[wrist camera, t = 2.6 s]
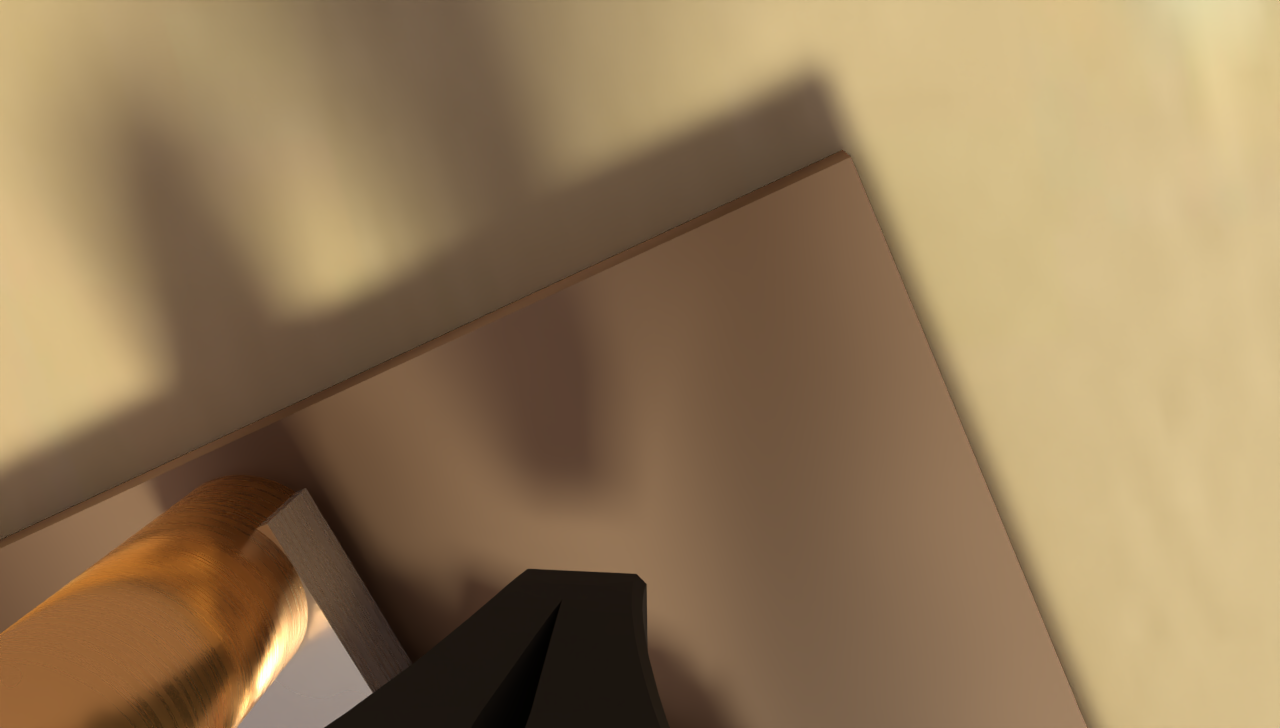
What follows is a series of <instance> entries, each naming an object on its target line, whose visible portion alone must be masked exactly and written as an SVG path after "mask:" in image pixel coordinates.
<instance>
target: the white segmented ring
mask: <svg viewBox="0 0 1280 728" xmlns="http://www.w3.org/2000/svg"><path fill="white" fill-rule="evenodd" d="M412 664H413V663H412V662H411V660H410V658H409V657H408V655H407V653H406V652H405V650H404V649H403V647H402V645H401V644H400V642H399V640H398V639H397V637H396V635H395V634H394V632H393V630H392V629H391V627H390V626H389V624H388V622H387V621H386V619H385V617H384V616H383V614H382V612H381V611H380V609H379V607H378V606H377V604H376V602H375V601H374V599H373V598H372V596H371V594H370V593H369V591H368V589H367V588H366V586H365V584H364V583H363V581H362V579H361V578H360V576H359V574H358V573H357V571H356V570H355V568H354V566H353V565H352V563H351V561H350V560H349V558H348V556H347V555H346V553H345V551H344V550H343V548H342V546H341V545H340V543H339V542H338V540H337V538H336V537H335V535H334V533H333V532H332V530H331V528H330V527H329V525H328V523H327V522H326V520H325V518H324V517H323V515H322V514H321V512H320V510H319V509H318V507H317V505H316V504H315V502H314V500H313V499H312V497H311V495H310V494H309V492H308V490H307V489H306V488H304V489H302V490H300V491H298V492H294V491H293V490H291V489H289V488H288V487H286V486H284V485H281V484H279V483H277V482H275V481H272V480H268V479H265V478H262V477H256V476H250V475H230V476H224V477H219V478H216V479H213V480H210V481H208V482H206V483H204V484H202V485H200V486H198V487H197V488H196V489H194V490H193V491H192V492H190V493H189V494H188V495H186V496H185V497H184V498H182V499H181V500H180V501H178V502H177V503H176V504H174V505H173V506H172V507H170V508H169V509H168V510H166V511H165V512H163V513H162V514H161V515H159V516H158V517H157V518H155V519H154V520H153V521H151V522H150V523H149V524H147V525H146V526H145V527H143V528H142V529H141V530H139V531H138V532H137V533H135V534H134V535H133V536H131V537H130V538H128V539H127V540H126V541H124V542H123V543H122V544H120V545H119V546H118V547H116V548H115V549H114V550H112V551H111V552H110V553H108V554H107V555H106V556H104V557H103V558H102V559H100V560H99V561H98V562H96V563H95V564H93V565H92V566H91V567H89V568H88V569H87V570H85V571H84V572H83V573H81V574H80V575H79V576H77V577H76V578H75V579H73V580H72V581H71V582H69V583H68V584H67V585H65V586H64V587H63V588H61V589H60V590H58V591H57V592H56V593H54V594H53V595H52V596H50V597H49V598H48V599H46V600H45V601H44V602H42V603H41V604H40V605H38V606H37V607H36V608H34V609H33V610H32V611H30V612H29V613H27V614H26V615H25V616H23V617H22V618H21V619H19V620H18V621H17V622H15V623H14V624H13V625H11V626H10V627H9V628H7V629H6V630H5V631H3V632H2V633H1V634H0V728H324V727H326V726H327V725H328V724H330V723H331V722H333V721H334V720H336V719H337V718H339V717H340V716H342V715H343V714H345V713H346V712H348V711H349V710H350V709H352V708H353V707H354V706H356V705H357V704H358V703H360V702H361V701H363V700H364V699H365V698H367V697H368V696H369V695H371V694H372V693H373V692H375V691H376V690H378V689H379V688H380V687H382V686H383V685H384V684H386V683H387V682H388V681H390V680H391V679H392V678H394V677H395V676H397V675H398V674H399V673H401V672H402V671H403V670H405V669H406V668H407V667H409V666H410V665H412Z"/></svg>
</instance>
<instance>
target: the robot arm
mask: <svg viewBox="0 0 1280 728" xmlns="http://www.w3.org/2000/svg"><path fill="white" fill-rule="evenodd" d="M324 728H670V726H669V724H668V721H667V718H666V715H665V712H664V709H663V706H662V703H661V700H660V697H659V693H658V689H657V686H656V682H655V678H654V674H653V670H652V667H651V663H650V659H649V654H648V638H647V584H646V583H645V582H644V581H643V580H642V579H641V578H640V577H639V576H638V575H637V574H631V573H610V572H589V571H567V570H546V569H526V570H525V571H524V572H523V573H521V574H520V575H519V576H518V577H516V578H515V579H514V580H513V581H511V582H510V583H509V584H508V585H507V586H506V587H504V588H503V589H502V590H501V591H500V592H499V593H497V594H496V595H495V596H494V597H493V598H492V599H490V600H489V601H488V602H487V603H486V604H485V605H484V606H482V607H481V608H480V609H479V610H478V611H476V612H475V613H474V614H473V615H472V616H471V617H469V618H468V619H467V620H466V621H465V622H463V623H462V624H461V625H460V626H459V627H457V628H456V629H455V630H454V631H452V632H451V633H450V634H449V635H448V636H446V637H445V638H444V639H443V640H441V641H440V642H439V643H438V644H437V645H435V646H434V647H433V648H432V649H431V650H429V651H428V652H427V653H426V654H424V655H423V656H422V657H421V658H419V659H418V660H417V661H416V662H414V663H413V664H412V665H410V666H409V667H407V668H406V669H405V670H403V671H402V672H401V673H399V674H398V675H397V676H395V677H394V678H392V679H391V680H390V681H388V682H387V683H386V684H384V685H383V686H382V687H380V688H379V689H378V690H376V691H375V692H373V693H372V694H371V695H369V696H368V697H367V698H365V699H364V700H363V701H361V702H360V703H358V704H357V705H356V706H354V707H353V708H352V709H350V710H349V711H348V712H346V713H345V714H343V715H342V716H340V717H339V718H337V719H336V720H334V721H333V722H331V723H330V724H328V725H327V726H326V727H324Z"/></svg>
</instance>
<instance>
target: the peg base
mask: <svg viewBox="0 0 1280 728" xmlns="http://www.w3.org/2000/svg"><path fill="white" fill-rule="evenodd" d="M230 475H250V476H256V477H262V478H265V479H268V480H272V481H275V482H277V483H279V484H281V485H284V486H286V487H288V488H289V489H291V490H293V491H294V492H298V491H300V490H302V489H304V488H306V489H307V490H308V492H309V494H310V495H311V497H312V499H313V500H314V502H315V504H316V505H317V507H318V509H319V510H320V512H321V514H322V515H323V517H324V518H325V520H326V522H327V523H328V525H329V527H330V528H331V530H332V532H333V533H334V535H335V537H336V538H337V540H338V542H339V543H340V545H341V546H342V548H343V550H344V551H345V553H346V555H347V556H348V558H349V560H350V561H351V563H352V565H353V566H354V568H355V570H356V571H357V573H358V574H359V576H360V578H361V579H362V581H363V583H364V584H365V586H366V588H367V589H368V591H369V593H370V594H371V596H372V598H373V599H374V601H375V602H376V604H377V606H378V607H379V609H380V611H381V612H382V614H383V616H384V617H385V619H386V621H387V622H388V624H389V626H390V627H391V629H392V630H393V632H394V634H395V635H396V637H397V639H398V640H399V642H400V644H401V645H402V647H403V649H404V650H405V652H406V653H407V655H408V657H409V658H410V660H411V662H412V663H414V662H416V661H417V660H418V659H419V658H421V657H422V656H423V655H424V654H426V653H427V652H428V651H429V650H431V649H432V648H433V647H434V646H435V645H437V644H438V643H439V642H440V641H441V640H443V639H444V638H445V637H446V636H448V635H449V634H450V633H451V632H452V631H454V630H455V629H456V628H457V627H459V626H460V625H461V624H462V623H463V622H465V621H466V620H467V619H468V618H469V617H471V616H472V615H473V614H474V613H475V612H476V611H478V610H479V609H480V608H481V607H482V606H484V605H485V604H486V603H487V602H488V601H489V600H490V599H492V598H493V597H494V596H495V595H496V594H497V593H499V592H500V591H501V590H502V589H503V588H504V587H506V586H507V585H508V584H509V583H510V582H511V581H513V580H514V579H515V578H516V577H518V576H519V575H520V574H521V573H523V572H524V571H525V570H526V569H546V570H567V571H589V572H610V573H631V574H637V575H638V576H639V577H640V578H641V579H642V580H643V581H644V582H645V583H646V584H647V638H648V654H649V659H650V663H651V667H652V670H653V674H654V678H655V682H656V686H657V689H658V693H659V697H660V700H661V703H662V706H663V709H664V712H665V715H666V718H667V721H668V724H669V726H670V728H1087V726H1086V724H1085V721H1084V719H1083V717H1082V714H1081V712H1080V709H1079V707H1078V704H1077V702H1076V700H1075V697H1074V695H1073V692H1072V690H1071V688H1070V685H1069V683H1068V680H1067V678H1066V675H1065V673H1064V671H1063V668H1062V666H1061V663H1060V661H1059V658H1058V656H1057V654H1056V651H1055V649H1054V646H1053V644H1052V642H1051V639H1050V637H1049V634H1048V632H1047V629H1046V627H1045V625H1044V622H1043V620H1042V617H1041V615H1040V613H1039V610H1038V608H1037V605H1036V603H1035V600H1034V598H1033V596H1032V593H1031V591H1030V588H1029V586H1028V584H1027V581H1026V579H1025V576H1024V574H1023V571H1022V569H1021V567H1020V564H1019V562H1018V559H1017V557H1016V555H1015V552H1014V550H1013V547H1012V545H1011V542H1010V540H1009V538H1008V535H1007V533H1006V530H1005V528H1004V526H1003V523H1002V521H1001V518H1000V516H999V513H998V511H997V509H996V506H995V504H994V501H993V499H992V497H991V494H990V492H989V489H988V487H987V484H986V482H985V480H984V477H983V475H982V472H981V470H980V468H979V465H978V463H977V460H976V458H975V455H974V453H973V451H972V448H971V446H970V443H969V441H968V439H967V436H966V434H965V431H964V429H963V426H962V424H961V422H960V419H959V417H958V414H957V412H956V410H955V407H954V405H953V402H952V400H951V397H950V395H949V393H948V390H947V388H946V385H945V383H944V381H943V378H942V376H941V373H940V371H939V368H938V366H937V364H936V361H935V359H934V356H933V354H932V351H931V349H930V347H929V344H928V342H927V339H926V337H925V335H924V332H923V330H922V327H921V325H920V322H919V320H918V318H917V315H916V313H915V310H914V308H913V306H912V303H911V301H910V298H909V296H908V293H907V291H906V289H905V286H904V284H903V281H902V279H901V277H900V274H899V272H898V269H897V267H896V264H895V262H894V260H893V257H892V255H891V252H890V250H889V248H888V245H887V243H886V240H885V238H884V235H883V233H882V231H881V228H880V226H879V223H878V221H877V219H876V216H875V214H874V211H873V209H872V206H871V204H870V202H869V199H868V197H867V194H866V192H865V190H864V187H863V185H862V182H861V180H860V177H859V175H858V173H857V170H856V168H855V165H854V163H853V161H852V158H851V157H850V156H849V155H848V154H847V153H846V152H845V151H844V150H841V151H839V152H837V153H835V154H833V155H831V156H828V157H826V158H824V159H822V160H820V161H818V162H816V163H813V164H811V165H809V166H807V167H805V168H803V169H800V170H798V171H796V172H794V173H792V174H790V175H787V176H785V177H783V178H781V179H779V180H777V181H775V182H772V183H770V184H768V185H766V186H764V187H762V188H759V189H757V190H755V191H753V192H751V193H749V194H746V195H744V196H742V197H740V198H738V199H736V200H733V201H731V202H729V203H727V204H725V205H723V206H721V207H718V208H716V209H714V210H712V211H710V212H708V213H705V214H703V215H701V216H699V217H697V218H695V219H692V220H690V221H688V222H686V223H684V224H682V225H679V226H677V227H675V228H673V229H671V230H669V231H667V232H664V233H662V234H660V235H658V236H656V237H654V238H651V239H649V240H647V241H645V242H643V243H641V244H638V245H636V246H634V247H632V248H630V249H628V250H626V251H623V252H621V253H619V254H617V255H615V256H613V257H610V258H608V259H606V260H604V261H602V262H600V263H597V264H595V265H593V266H591V267H589V268H587V269H584V270H582V271H580V272H578V273H576V274H574V275H572V276H569V277H567V278H565V279H563V280H561V281H559V282H556V283H554V284H552V285H550V286H548V287H546V288H543V289H541V290H539V291H537V292H535V293H533V294H531V295H528V296H526V297H524V298H522V299H520V300H518V301H515V302H513V303H511V304H509V305H507V306H505V307H502V308H500V309H498V310H496V311H494V312H492V313H489V314H487V315H485V316H483V317H481V318H479V319H477V320H474V321H472V322H470V323H468V324H466V325H464V326H461V327H459V328H457V329H455V330H453V331H451V332H448V333H446V334H444V335H442V336H440V337H438V338H436V339H433V340H431V341H429V342H427V343H425V344H423V345H420V346H418V347H416V348H414V349H412V350H410V351H407V352H405V353H403V354H401V355H399V356H397V357H394V358H392V359H390V360H388V361H386V362H384V363H382V364H379V365H377V366H375V367H373V368H371V369H369V370H366V371H364V372H362V373H360V374H358V375H356V376H353V377H351V378H349V379H347V380H345V381H343V382H340V383H338V384H336V385H334V386H332V387H330V388H328V389H325V390H323V391H321V392H319V393H317V394H315V395H312V396H310V397H308V398H306V399H304V400H302V401H299V402H297V403H295V404H293V405H291V406H289V407H287V408H284V409H282V410H280V411H278V412H276V413H274V414H271V415H269V416H267V417H265V418H263V419H261V420H258V421H256V422H254V423H252V424H250V425H248V426H245V427H243V428H241V429H239V430H237V431H235V432H233V433H230V434H228V435H226V436H224V437H222V438H220V439H217V440H215V441H213V442H211V443H209V444H207V445H204V446H202V447H200V448H198V449H196V450H194V451H192V452H189V453H187V454H185V455H183V456H181V457H179V458H176V459H174V460H172V461H170V462H168V463H166V464H163V465H161V466H159V467H157V468H155V469H153V470H150V471H148V472H146V473H144V474H142V475H140V476H138V477H135V478H133V479H131V480H129V481H127V482H125V483H122V484H120V485H118V486H116V487H114V488H112V489H109V490H107V491H105V492H103V493H101V494H99V495H97V496H94V497H92V498H90V499H88V500H86V501H84V502H81V503H79V504H77V505H75V506H73V507H71V508H68V509H66V510H64V511H62V512H60V513H58V514H55V515H53V516H51V517H49V518H47V519H45V520H43V521H40V522H38V523H36V524H34V525H32V526H30V527H27V528H25V529H23V530H21V531H19V532H17V533H14V534H12V535H10V536H8V537H6V538H4V539H1V540H0V634H1V633H2V632H3V631H5V630H6V629H7V628H9V627H10V626H11V625H13V624H14V623H15V622H17V621H18V620H19V619H21V618H22V617H23V616H25V615H26V614H27V613H29V612H30V611H32V610H33V609H34V608H36V607H37V606H38V605H40V604H41V603H42V602H44V601H45V600H46V599H48V598H49V597H50V596H52V595H53V594H54V593H56V592H57V591H58V590H60V589H61V588H63V587H64V586H65V585H67V584H68V583H69V582H71V581H72V580H73V579H75V578H76V577H77V576H79V575H80V574H81V573H83V572H84V571H85V570H87V569H88V568H89V567H91V566H92V565H93V564H95V563H96V562H98V561H99V560H100V559H102V558H103V557H104V556H106V555H107V554H108V553H110V552H111V551H112V550H114V549H115V548H116V547H118V546H119V545H120V544H122V543H123V542H124V541H126V540H127V539H128V538H130V537H131V536H133V535H134V534H135V533H137V532H138V531H139V530H141V529H142V528H143V527H145V526H146V525H147V524H149V523H150V522H151V521H153V520H154V519H155V518H157V517H158V516H159V515H161V514H162V513H163V512H165V511H166V510H168V509H169V508H170V507H172V506H173V505H174V504H176V503H177V502H178V501H180V500H181V499H182V498H184V497H185V496H186V495H188V494H189V493H190V492H192V491H193V490H194V489H196V488H197V487H198V486H200V485H202V484H204V483H206V482H208V481H210V480H213V479H216V478H219V477H224V476H230Z"/></svg>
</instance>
